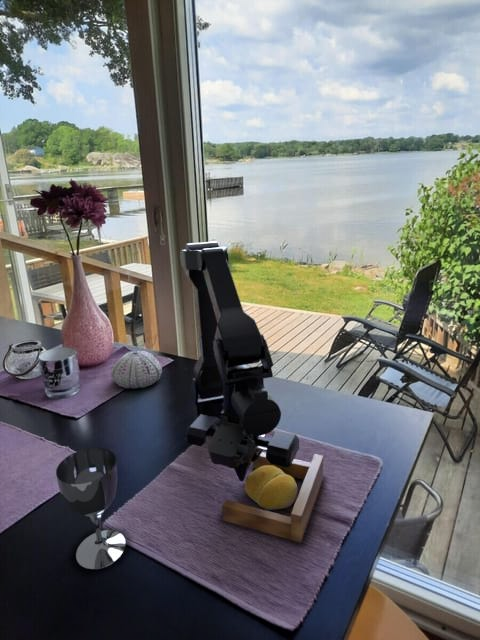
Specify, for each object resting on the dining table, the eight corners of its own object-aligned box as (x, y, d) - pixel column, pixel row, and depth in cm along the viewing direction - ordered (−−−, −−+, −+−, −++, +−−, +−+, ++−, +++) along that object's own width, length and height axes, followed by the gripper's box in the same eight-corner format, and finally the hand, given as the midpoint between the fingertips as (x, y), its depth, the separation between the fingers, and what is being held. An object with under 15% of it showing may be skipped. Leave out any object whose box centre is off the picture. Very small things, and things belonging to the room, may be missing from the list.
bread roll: (273, 520, 70) (273, 500, 69) (237, 491, 77) (237, 472, 75) (308, 496, 75) (309, 476, 74) (272, 470, 81) (272, 452, 80)
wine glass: (80, 530, 69) (65, 449, 64) (132, 526, 70) (120, 445, 65) (66, 574, 62) (47, 486, 57) (123, 569, 62) (110, 481, 57)
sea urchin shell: (165, 368, 125) (163, 342, 122) (160, 391, 112) (157, 362, 110) (118, 370, 124) (115, 344, 122) (107, 394, 112) (103, 365, 109)
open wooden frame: (222, 520, 70) (221, 495, 69) (255, 463, 84) (255, 441, 82) (301, 543, 66) (301, 516, 64) (322, 479, 79) (323, 455, 77)
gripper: (165, 415, 69) (172, 496, 74) (280, 440, 62) (279, 528, 67) (199, 383, 78) (203, 457, 83) (301, 403, 71) (298, 482, 77)
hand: (242, 479), depth 77 cm, fingers closed
